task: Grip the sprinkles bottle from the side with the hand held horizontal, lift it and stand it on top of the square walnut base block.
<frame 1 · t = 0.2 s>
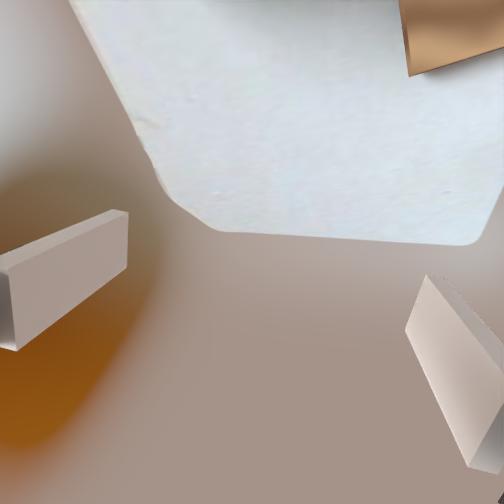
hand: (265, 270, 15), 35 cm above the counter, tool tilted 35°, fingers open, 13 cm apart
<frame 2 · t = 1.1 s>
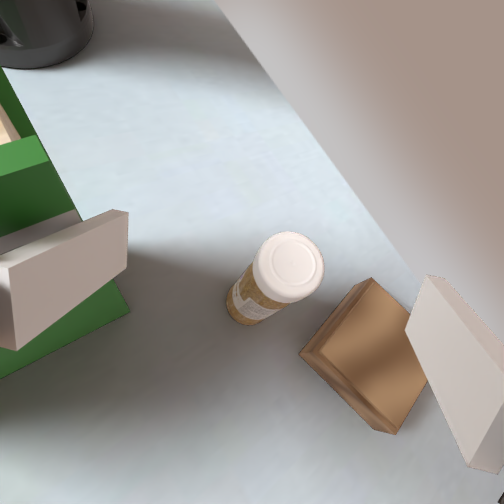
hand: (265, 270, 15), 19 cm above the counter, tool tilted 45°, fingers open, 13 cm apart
sprinkles bottle: (247, 303, 34), on the counter
hardback book: (11, 325, 29), on the counter, touching gripper
walnut base: (363, 352, 35), on the counter
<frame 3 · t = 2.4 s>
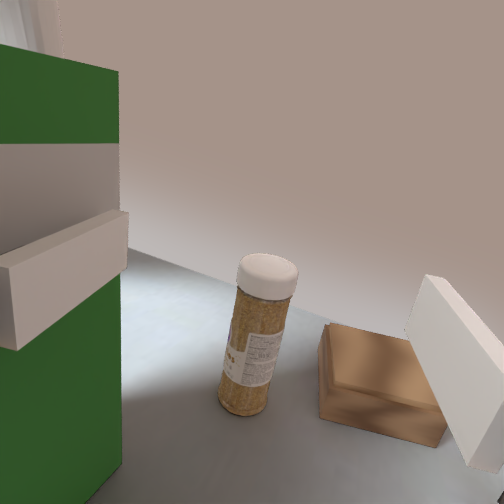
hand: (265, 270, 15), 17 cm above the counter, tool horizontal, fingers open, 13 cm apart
sprinkles bottle: (241, 399, 31), on the counter
walnut base: (368, 391, 34), on the counter
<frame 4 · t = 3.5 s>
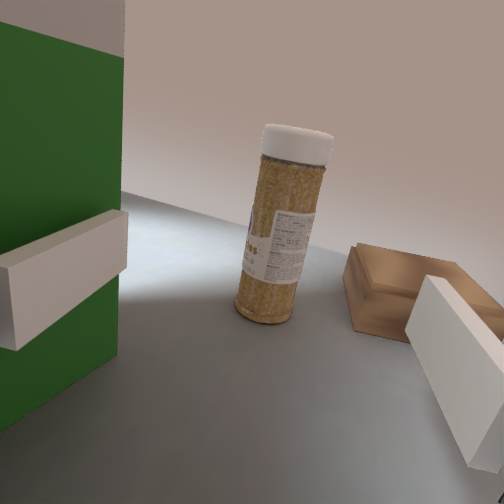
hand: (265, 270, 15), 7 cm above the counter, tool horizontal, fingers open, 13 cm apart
sprinkles bottle: (262, 312, 27), on the counter
walnut base: (404, 312, 30), on the counter
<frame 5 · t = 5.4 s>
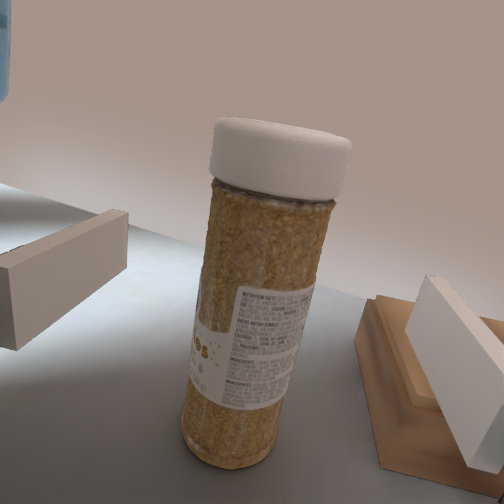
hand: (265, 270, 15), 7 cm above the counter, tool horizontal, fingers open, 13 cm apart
sprinkles bottle: (228, 431, 16), on the counter
walnut base: (452, 410, 20), on the counter
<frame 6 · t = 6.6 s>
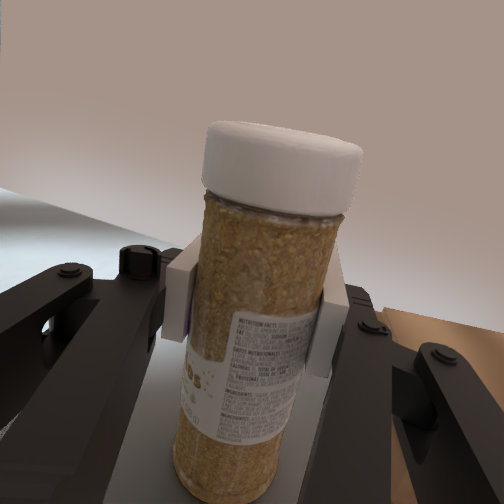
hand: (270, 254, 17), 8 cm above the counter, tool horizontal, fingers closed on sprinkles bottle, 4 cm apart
sprinkles bottle: (225, 461, 15), on the counter, touching gripper
walnut base: (466, 433, 18), on the counter
when the fingers open (13 cm above the counter, at t = 10.9 s): sprinkles bottle drops 1 cm, resting on walnut base.
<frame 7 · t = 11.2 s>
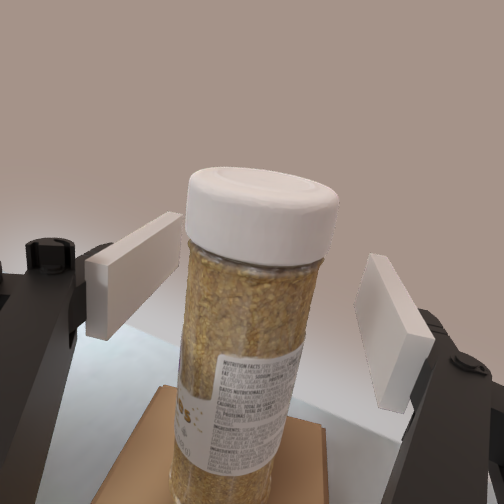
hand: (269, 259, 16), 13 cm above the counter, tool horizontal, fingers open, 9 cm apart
sprinkles bottle: (220, 484, 15), point 4 cm above the counter, touching walnut base
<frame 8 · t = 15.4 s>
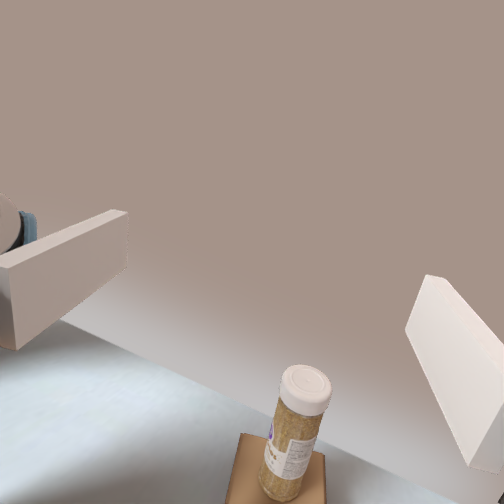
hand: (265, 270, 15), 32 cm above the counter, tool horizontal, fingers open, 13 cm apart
sprinkles bottle: (279, 482, 36), point 4 cm above the counter, touching walnut base
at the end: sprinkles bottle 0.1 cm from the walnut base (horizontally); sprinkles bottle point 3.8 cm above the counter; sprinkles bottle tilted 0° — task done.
